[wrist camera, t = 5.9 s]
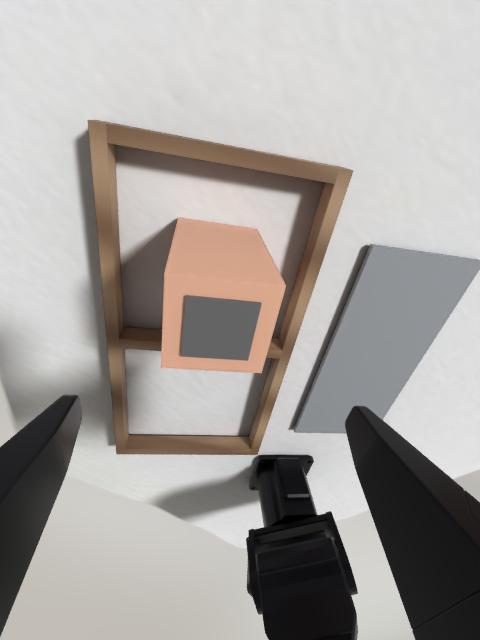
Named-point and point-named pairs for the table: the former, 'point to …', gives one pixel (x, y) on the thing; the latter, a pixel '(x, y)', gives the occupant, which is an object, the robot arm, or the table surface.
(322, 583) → the robot arm
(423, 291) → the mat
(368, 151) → the table surface
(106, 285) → the organizer
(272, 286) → the peach block
